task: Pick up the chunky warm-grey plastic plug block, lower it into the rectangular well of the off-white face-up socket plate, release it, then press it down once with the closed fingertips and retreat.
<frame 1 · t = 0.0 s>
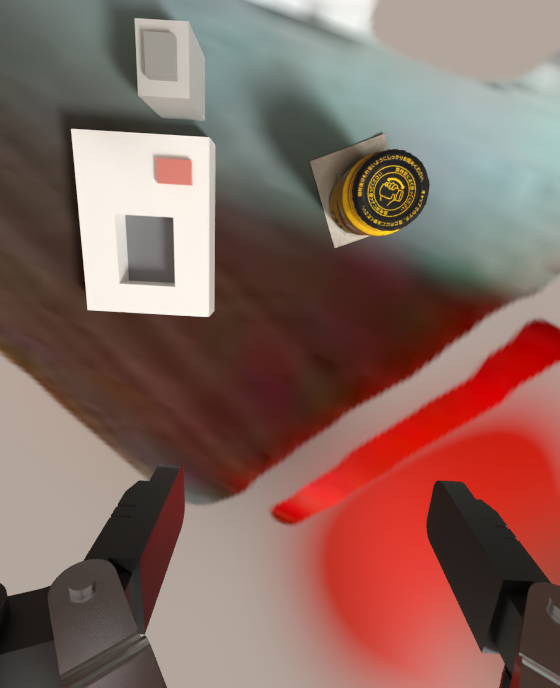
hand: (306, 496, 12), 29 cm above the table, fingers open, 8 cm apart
socket plate: (155, 229, 38), on the table
plug: (182, 88, 34), on the table
condiment: (357, 193, 37), on the table
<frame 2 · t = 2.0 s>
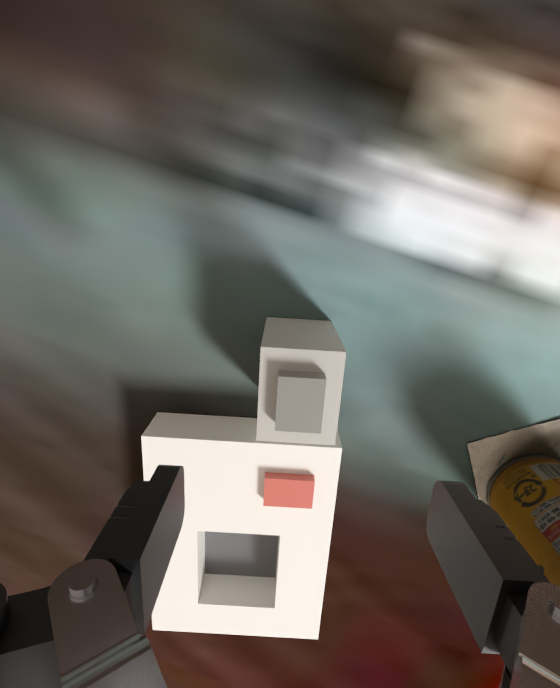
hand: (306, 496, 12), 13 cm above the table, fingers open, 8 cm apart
socket plate: (243, 514, 28), on the table
plug: (296, 356, 24), on the table
condiment: (526, 476, 27), on the table
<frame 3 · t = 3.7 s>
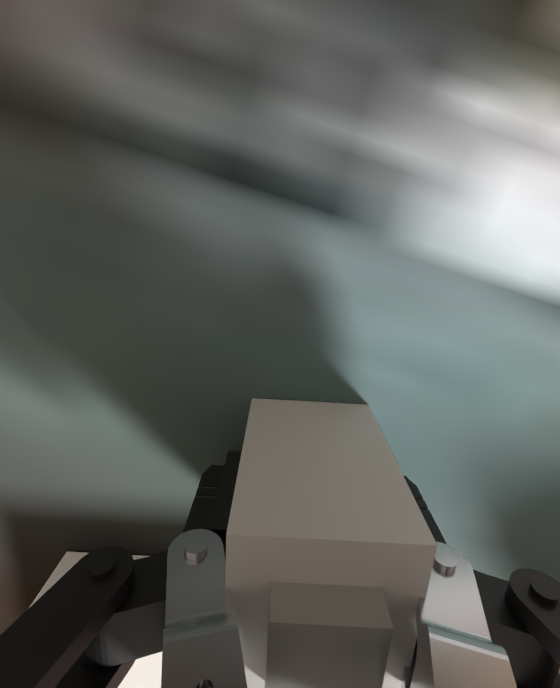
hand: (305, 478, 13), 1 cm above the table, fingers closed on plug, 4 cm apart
plug: (304, 464, 14), on the table, touching gripper
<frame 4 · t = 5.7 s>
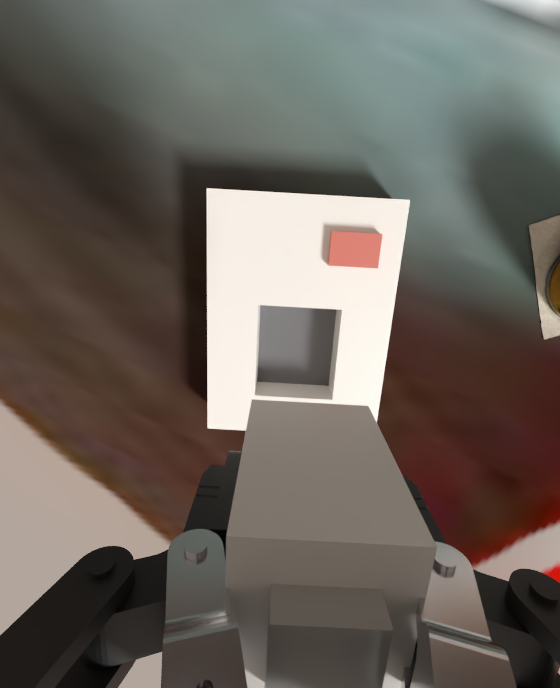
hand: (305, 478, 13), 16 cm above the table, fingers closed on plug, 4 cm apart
socket plate: (297, 314, 27), on the table
plug: (304, 465, 14), point 15 cm above the table, touching gripper
when the fingers open (3 cm above the table, at t = 7.7 s): plug drops 2 cm, resting on socket plate.
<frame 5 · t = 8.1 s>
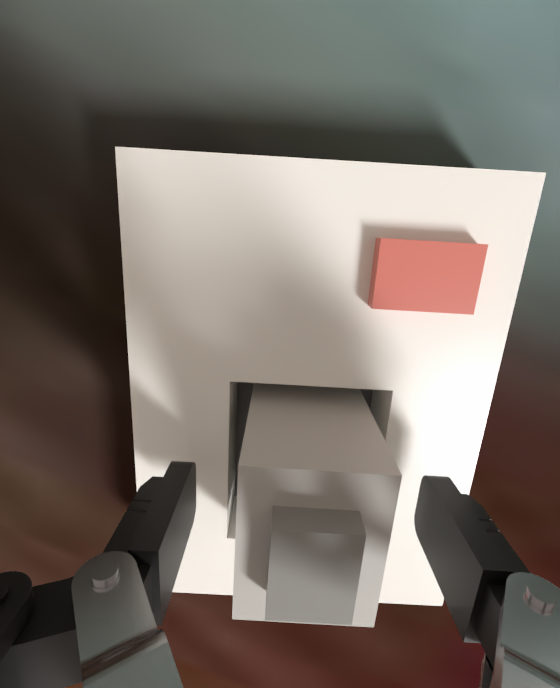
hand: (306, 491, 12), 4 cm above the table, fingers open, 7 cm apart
socket plate: (304, 384, 16), on the table
plug: (300, 434, 16), point 1 cm above the table, touching socket plate
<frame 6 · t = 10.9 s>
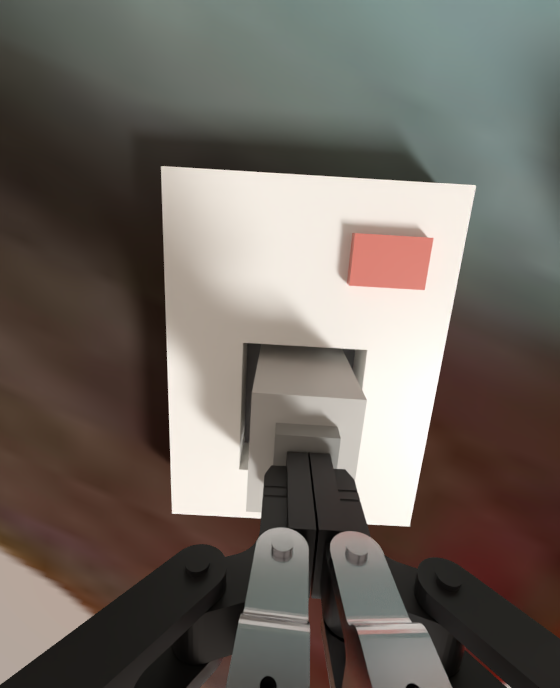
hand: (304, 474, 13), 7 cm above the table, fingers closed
socket plate: (300, 351, 19), on the table
plug: (297, 391, 19), point 1 cm above the table, touching gripper, socket plate
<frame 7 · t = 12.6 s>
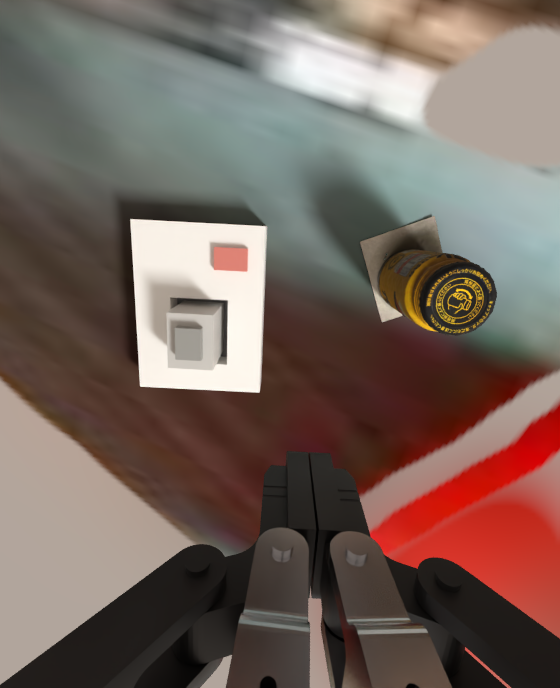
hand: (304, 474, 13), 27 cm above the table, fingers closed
socket plate: (205, 305, 38), on the table
plug: (204, 325, 38), point 1 cm above the table, touching socket plate
condiment: (405, 271, 37), on the table
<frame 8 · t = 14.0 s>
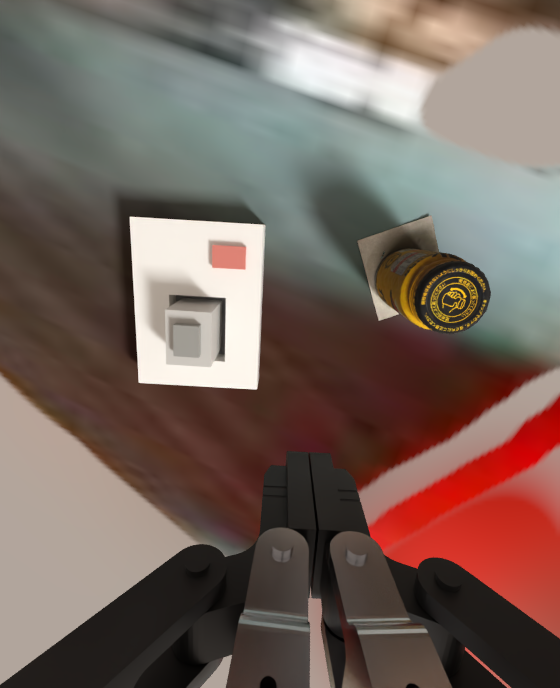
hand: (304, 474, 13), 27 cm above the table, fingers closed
socket plate: (203, 303, 39), on the table
plug: (202, 323, 39), point 1 cm above the table, touching socket plate
condiment: (402, 269, 38), on the table
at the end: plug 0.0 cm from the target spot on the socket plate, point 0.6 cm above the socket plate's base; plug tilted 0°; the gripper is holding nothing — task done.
